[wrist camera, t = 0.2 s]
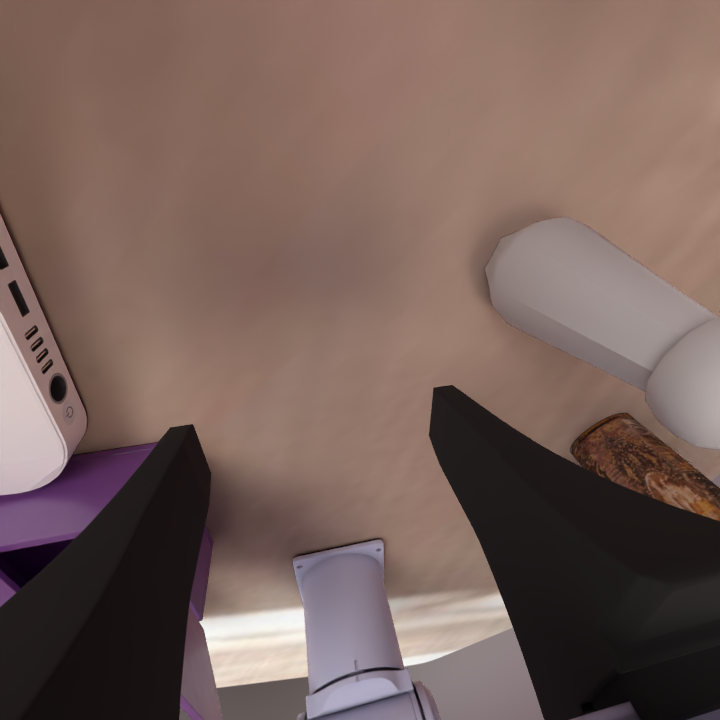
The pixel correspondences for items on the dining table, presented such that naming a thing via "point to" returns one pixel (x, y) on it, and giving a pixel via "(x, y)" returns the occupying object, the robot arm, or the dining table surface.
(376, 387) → the dining table surface
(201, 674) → the purple box lid
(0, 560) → the purple open box
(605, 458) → the book
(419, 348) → the dining table surface
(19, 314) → the computer
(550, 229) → the salt shaker
